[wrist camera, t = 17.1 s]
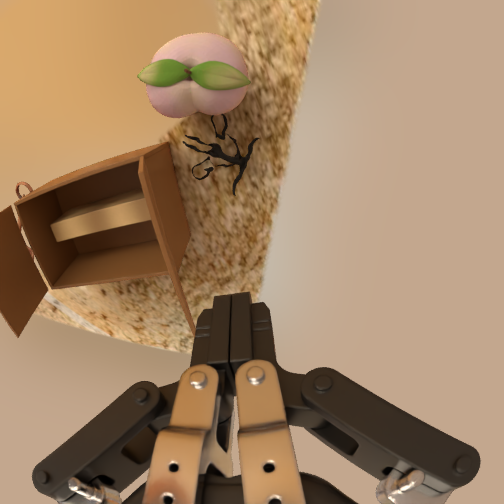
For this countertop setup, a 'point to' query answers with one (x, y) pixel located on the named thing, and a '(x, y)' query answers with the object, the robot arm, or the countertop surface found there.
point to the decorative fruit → (196, 76)
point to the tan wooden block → (102, 215)
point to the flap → (163, 240)
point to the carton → (91, 245)
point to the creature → (223, 154)
